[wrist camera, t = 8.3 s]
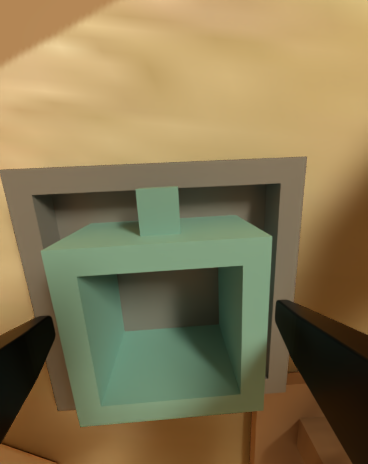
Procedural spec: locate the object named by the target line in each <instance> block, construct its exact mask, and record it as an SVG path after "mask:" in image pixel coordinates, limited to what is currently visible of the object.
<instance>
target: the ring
mask: <svg viewBox="0 0 368 464" xmlns="http://www.w3.org/2000/svg"><path fill="white" fill-rule="evenodd" d="M135 190H136V200H137V210H138V219H139V221H124V222H107V223H91V224H89V225H87V226H85V227H83V228H81V229H80V230H78V231H76V232H74V233H72V234H70V235H69V236H67V237H65V238H63V239H61V240H60V241H58V242H56V243H54V244H52V245H50V246H49V247H47V248H45V249H43V250H41V255H42V260H43V264H44V269H45V273H46V277H47V282H48V286H49V291H50V295H51V300H52V304H53V309H54V313H55V317H56V322H57V326H58V331H59V335H60V340H61V344H62V349H63V353H64V357H65V362H66V366H67V371H68V375H69V380H70V384H71V389H72V393H73V397H74V402H75V406H76V411H77V415H78V420H79V424H80V427H87V426H98V425H109V424H120V423H131V422H142V421H153V420H164V419H175V418H186V417H197V416H208V415H220V414H231V413H242V412H253V411H263V409H264V390H265V370H266V351H267V332H268V312H269V293H270V274H271V254H272V236H271V235H269V234H267V233H266V232H264V231H262V230H261V229H259V228H257V227H256V226H254V225H252V224H250V223H249V222H247V221H245V220H244V219H242V218H240V217H239V216H237V215H227V216H210V217H193V218H180V214H179V196H178V186H168V187H149V188H138V189H135ZM214 267H218V289H219V324H217V325H204V326H191V327H177V328H164V329H151V330H138V331H125V330H124V323H123V316H122V308H121V301H120V294H119V287H118V279H117V274H124V273H139V272H154V271H169V270H184V269H199V268H214Z"/></svg>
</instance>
